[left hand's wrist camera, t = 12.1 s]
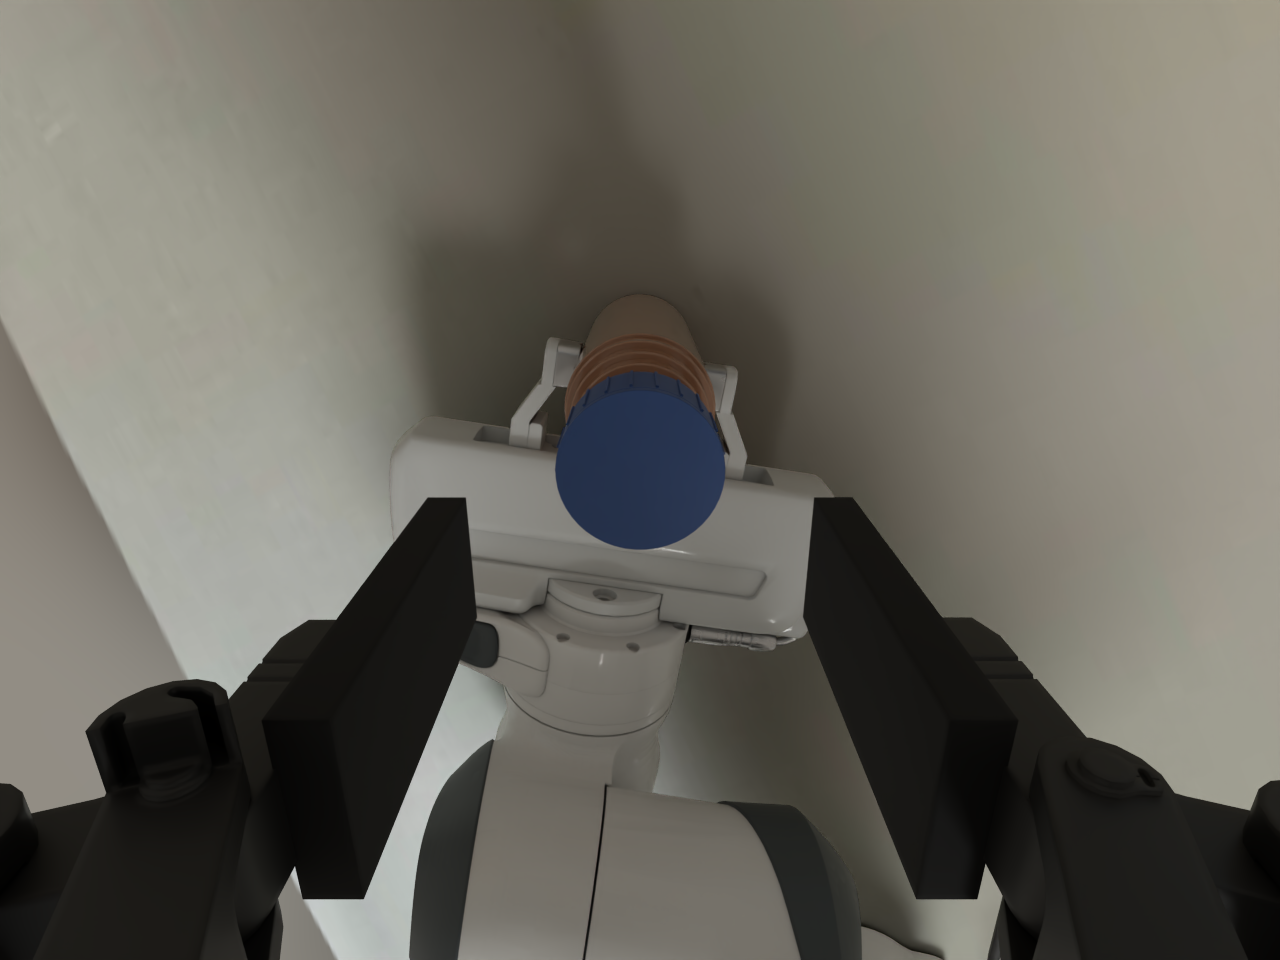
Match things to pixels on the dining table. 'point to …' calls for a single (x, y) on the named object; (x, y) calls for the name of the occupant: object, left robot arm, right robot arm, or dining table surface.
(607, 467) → the cap
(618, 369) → the bottle
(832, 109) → the dining table surface
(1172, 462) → the dining table surface
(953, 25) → the dining table surface
